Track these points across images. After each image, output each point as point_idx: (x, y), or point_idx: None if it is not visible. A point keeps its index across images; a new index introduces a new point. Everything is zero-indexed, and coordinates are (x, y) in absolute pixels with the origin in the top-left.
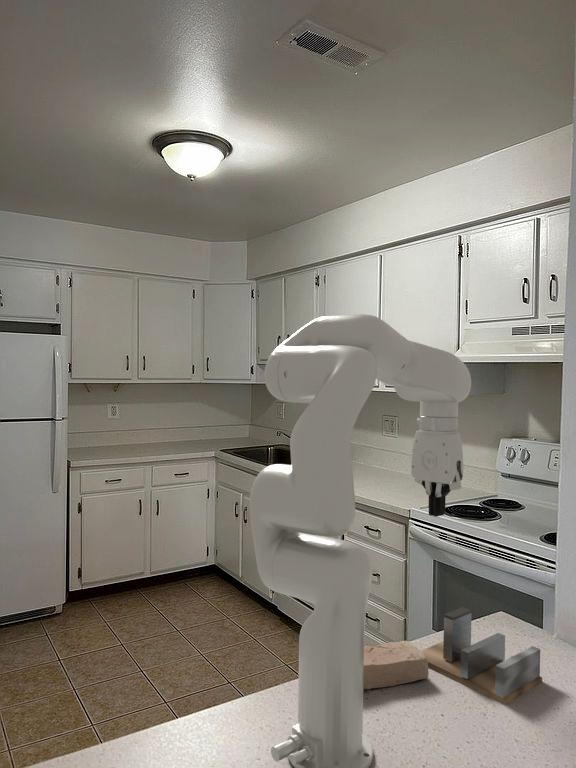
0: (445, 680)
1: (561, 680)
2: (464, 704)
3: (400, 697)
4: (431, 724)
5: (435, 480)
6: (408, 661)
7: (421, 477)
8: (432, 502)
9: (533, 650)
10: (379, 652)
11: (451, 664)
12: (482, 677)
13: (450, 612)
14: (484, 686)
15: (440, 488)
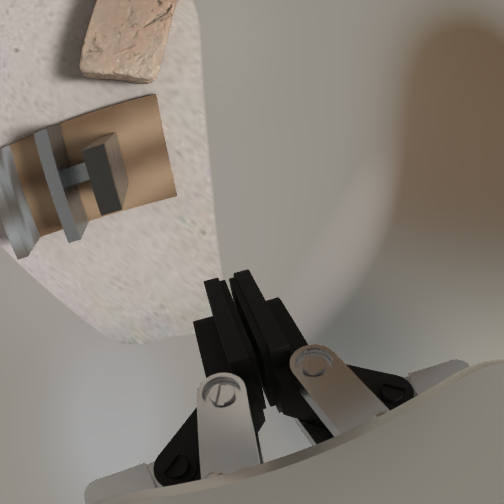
0: (78, 104)
1: (32, 265)
2: (20, 93)
3: (74, 15)
4: (10, 27)
5: (215, 494)
6: (86, 34)
7: (421, 416)
8: (250, 327)
9: (15, 246)
10: (138, 5)
11: (98, 135)
12: None
13: (107, 164)
14: (28, 142)
15: (204, 443)
